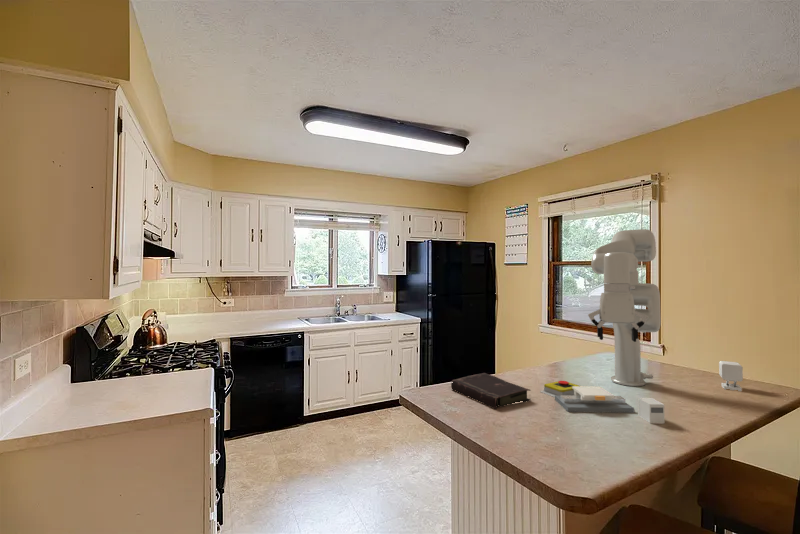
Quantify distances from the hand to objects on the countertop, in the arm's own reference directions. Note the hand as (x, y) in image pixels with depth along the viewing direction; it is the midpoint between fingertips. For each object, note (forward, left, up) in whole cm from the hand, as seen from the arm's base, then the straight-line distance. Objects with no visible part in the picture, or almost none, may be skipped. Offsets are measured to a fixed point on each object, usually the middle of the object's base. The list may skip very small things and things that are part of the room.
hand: (617, 340), depth 126 cm
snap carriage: (+5, -7, -22) cm, 23 cm away
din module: (-8, +4, -25) cm, 26 cm away
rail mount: (+5, -8, -25) cm, 26 cm away
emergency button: (+10, -23, -25) cm, 35 cm away
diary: (+39, -19, -25) cm, 50 cm away
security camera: (-60, -30, -25) cm, 71 cm away
